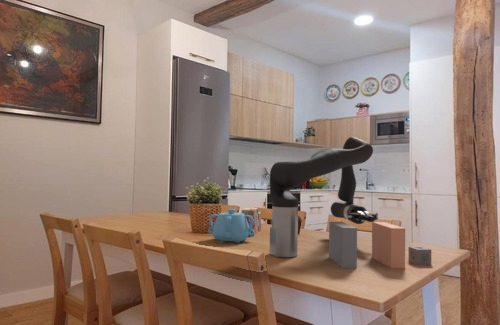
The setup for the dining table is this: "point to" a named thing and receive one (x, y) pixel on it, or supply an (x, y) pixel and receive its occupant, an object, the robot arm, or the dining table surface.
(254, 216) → the stack of blocks
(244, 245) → the dining table surface
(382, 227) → the terracotta slab
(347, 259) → the slate slab
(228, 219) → the decorative pot
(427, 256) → the dice cube
